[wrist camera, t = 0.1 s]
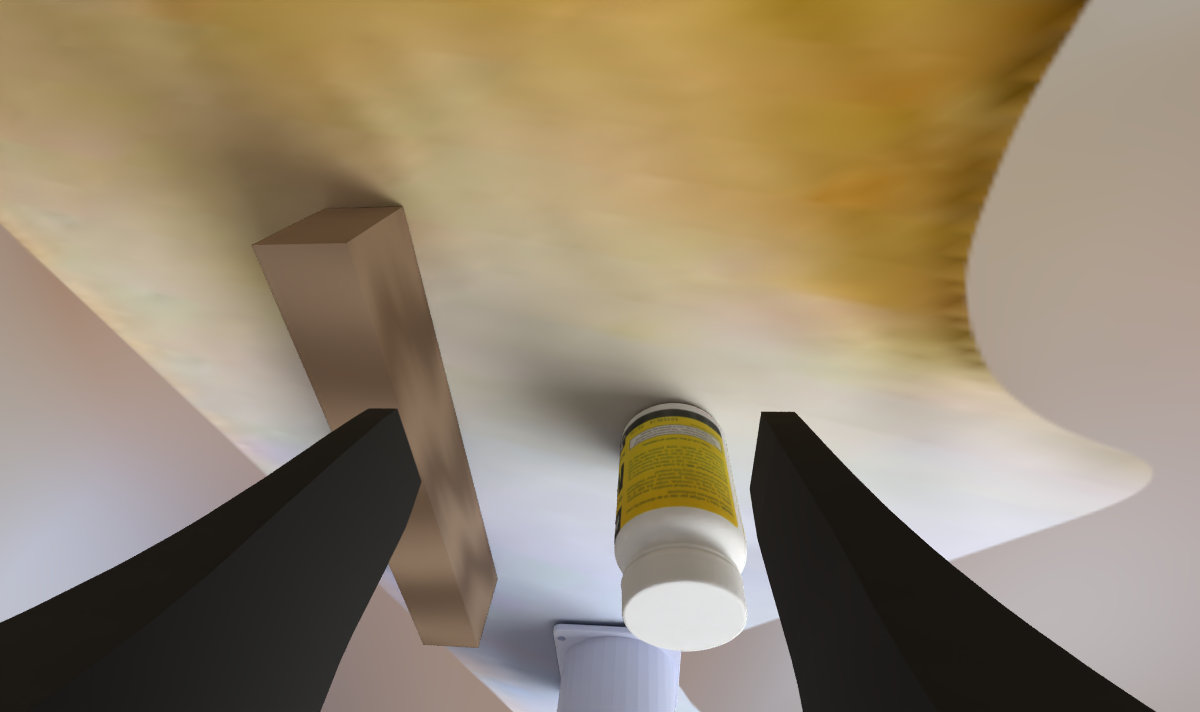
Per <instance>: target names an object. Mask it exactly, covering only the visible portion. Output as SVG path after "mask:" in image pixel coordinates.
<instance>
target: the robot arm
mask: <svg viewBox="0 0 1200 712" xmlns="http://www.w3.org/2000/svg"><path fill="white" fill-rule="evenodd" d="M421 482H422V481H421V478H420V475H419V472H418V469H417V466H416V463H415V460H414V457H413V454H412V451H411V448H410V445H409V442H408V439H407V436H406V433H405V430H404V427H403V424H402V421H401V418H400V415H399V412H398V409H393V408H369V409H367V410H365V411H364V412H362V413H360V414H358V415H357V416H355V417H354V418H352V419H351V420H349V421H348V422H346V423H344V424H343V425H341V426H340V427H338V428H337V429H335V430H334V431H333V432H331V433H330V434H328V435H327V436H325V437H324V438H322V439H321V440H319V441H318V442H316V443H315V444H314V445H312V446H311V447H309V448H308V449H306V450H305V451H303V452H302V453H300V454H299V455H297V456H296V457H295V458H293V459H292V460H290V461H289V462H287V463H286V464H284V465H283V466H281V467H280V468H278V469H277V470H275V471H274V472H273V473H271V474H270V475H268V476H267V477H265V478H264V479H262V480H260V481H259V482H257V483H256V484H254V485H253V486H251V487H249V488H248V489H246V490H245V491H243V492H242V493H240V494H239V495H237V496H235V497H234V498H232V499H231V500H229V501H228V502H226V503H224V504H223V505H221V506H220V507H218V508H217V509H215V510H213V511H212V512H210V513H209V514H207V515H206V516H204V517H202V518H201V519H199V520H197V521H196V522H194V523H192V524H191V525H189V526H187V527H185V528H184V529H182V530H180V531H179V532H177V533H175V534H174V535H172V536H170V537H168V538H166V539H165V540H163V541H161V542H159V543H157V544H156V545H154V546H152V547H150V548H148V549H147V550H145V551H143V552H141V553H140V554H138V555H136V556H134V557H132V558H130V559H129V560H127V561H125V562H123V563H121V564H119V565H117V566H115V567H114V568H112V569H109V570H107V571H106V572H103V573H102V574H100V575H97V576H95V577H94V578H91V579H90V580H87V581H85V582H83V583H81V584H79V585H77V586H75V587H74V588H71V589H70V590H68V591H65V592H63V593H61V594H59V595H57V596H55V597H53V598H51V599H49V600H48V601H45V602H43V603H41V604H39V605H37V606H35V607H34V608H31V609H29V610H27V611H25V612H23V613H21V614H18V615H16V616H14V617H12V618H10V619H8V620H5V621H3V622H1V623H0V712H320V711H321V708H322V706H323V703H324V701H325V698H326V696H327V693H328V691H329V688H330V686H331V683H332V681H333V678H334V676H335V673H336V670H337V668H338V665H339V663H340V660H341V658H342V656H343V654H344V652H345V650H346V647H347V645H348V643H349V641H350V638H351V636H352V634H353V632H354V630H355V628H356V626H357V624H358V622H359V620H360V618H361V616H362V614H363V612H364V611H365V609H366V607H367V605H368V603H369V600H370V598H371V597H372V595H373V593H374V591H375V589H376V587H377V585H378V583H379V581H380V579H381V577H382V575H383V573H384V571H385V569H386V567H387V565H388V563H389V561H390V559H391V557H392V555H393V553H394V551H395V549H396V547H397V545H398V543H399V541H400V539H401V537H402V534H403V532H404V530H405V528H406V526H407V523H408V520H409V517H410V515H411V512H412V509H413V506H414V503H415V500H416V497H417V494H418V491H419V488H420V485H421ZM750 494H751V501H752V508H753V514H754V520H755V526H756V532H757V538H758V542H759V546H760V550H761V553H762V557H763V560H764V564H765V568H766V571H767V575H768V578H769V582H770V586H771V589H772V593H773V596H774V600H775V603H776V607H777V610H778V614H779V617H780V621H781V624H782V628H783V631H784V635H785V638H786V641H787V645H788V649H789V652H790V656H791V659H792V664H793V668H794V672H795V676H796V680H797V684H798V688H799V694H800V698H801V704H802V709H803V712H1155V711H1154V710H1152V709H1151V708H1149V707H1148V706H1146V705H1145V704H1143V703H1142V702H1140V701H1138V700H1137V699H1136V698H1134V697H1133V696H1131V695H1130V694H1128V693H1127V692H1125V691H1124V690H1122V689H1121V688H1119V687H1118V686H1116V685H1115V684H1113V683H1112V682H1110V681H1109V680H1107V679H1106V678H1104V677H1103V676H1101V675H1100V674H1098V673H1097V672H1095V671H1094V670H1092V669H1091V668H1090V667H1088V666H1087V665H1085V664H1084V663H1082V662H1081V661H1080V660H1078V659H1077V658H1075V657H1074V656H1073V655H1071V654H1069V653H1068V652H1067V651H1066V650H1064V649H1063V648H1061V647H1060V646H1058V645H1057V644H1056V643H1054V642H1053V641H1051V640H1050V639H1049V638H1047V637H1046V636H1044V635H1043V634H1041V633H1040V632H1039V631H1037V630H1036V629H1035V628H1033V627H1032V626H1030V625H1029V624H1028V623H1026V622H1025V621H1024V620H1022V619H1021V618H1020V617H1018V616H1017V615H1015V614H1014V613H1013V612H1012V611H1010V610H1009V609H1007V608H1006V607H1005V606H1004V605H1002V604H1001V603H1000V602H998V601H997V600H996V599H994V598H993V597H992V596H991V595H989V594H988V593H987V592H986V591H984V590H983V589H982V588H981V587H979V586H978V585H977V584H976V583H974V582H973V581H972V580H970V579H969V578H968V577H967V576H966V575H964V574H963V573H962V572H960V571H959V570H958V569H957V568H955V567H954V566H953V565H952V564H950V563H949V562H948V561H947V560H946V559H945V558H943V557H942V556H941V555H940V554H939V553H937V552H936V551H935V550H934V549H933V548H932V547H930V546H929V545H928V544H927V543H926V542H925V541H924V540H922V539H921V538H920V537H919V536H918V535H917V534H916V533H915V532H914V531H912V530H911V529H910V528H909V527H908V526H907V525H906V524H905V523H904V522H902V521H901V520H900V519H899V518H898V517H897V516H896V515H895V514H894V513H893V512H891V511H890V510H889V509H888V508H887V507H886V506H885V505H884V504H883V503H882V502H881V501H880V500H879V499H878V498H877V497H876V496H875V495H874V494H873V493H872V492H871V491H870V490H869V489H868V488H867V487H866V486H865V485H864V484H863V483H862V482H861V481H860V480H859V479H858V478H857V477H856V476H855V475H854V474H853V473H852V472H851V471H850V470H849V469H848V468H847V467H846V466H845V465H844V464H843V463H842V462H841V461H840V460H839V459H838V458H837V456H836V455H835V454H834V453H833V452H832V451H831V450H830V449H829V448H828V447H827V446H826V445H825V444H824V443H823V442H822V440H821V439H820V438H819V437H818V436H817V435H816V434H815V433H814V432H813V431H812V430H811V429H810V428H809V426H808V425H807V424H806V423H805V422H804V421H803V420H802V419H801V418H800V417H799V416H798V415H797V414H796V413H795V412H761V418H760V424H759V431H758V438H757V444H756V451H755V457H754V464H753V471H752V477H751V484H750ZM553 635H554V641H555V647H556V652H557V658H558V664H559V670H560V675H561V685H560V693H559V700H558V708H557V712H675V708H676V707H677V700H678V685H679V671H680V657H681V651H674V650H668V649H663V648H659V647H656V646H653V645H650V644H648V643H645V642H644V641H642V640H640V639H638V638H637V637H636V636H634V635H633V634H632V633H631V632H630V631H629V630H628V628H627V627H614V626H594V625H575V624H557V625H555V626H554V630H553Z"/></svg>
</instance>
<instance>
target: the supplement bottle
mask: <svg viewBox="0 0 1200 712" xmlns="http://www.w3.org/2000/svg"><path fill="white" fill-rule="evenodd" d="M615 525H616V528H615V541H614V544H615V557H616V561H617V564H618V566H619V568H620V570H621V571H622V573H623V577H622V581H621V589H622V617H623V620H624V623H625V625H626V627H627V628H628V630H629V631H630V632H631V633H632V634H633V635H634V636H636V637H637V638H638V639H640V640H642V641H644V642H645V643H648V644H650V645H653V646H656V647H659V648H663V649H668V650H674V651H698V650H705V649H710V648H714V647H716V646H719V645H722V644H724V643H727V642H729V641H730V640H732V639H733V638H735V637H736V636H737V635H739V633H740V632H741V631H742V630H743V628H744V627H745V624H746V621H747V607H746V601H745V594H744V585H743V581H742V578H741V573H742V571H743V569H744V566H745V563H746V559H747V548H746V540H745V534H744V529H743V525H742V520H741V516H740V511H739V506H738V501H737V496H736V491H735V486H734V482H733V476H732V471H731V466H730V461H729V456H728V450H727V444H726V441H725V437H724V434H723V431H722V429H721V427H720V426H719V425H718V423H717V422H716V421H715V420H714V419H713V418H712V417H711V416H710V415H709V414H708V413H706V412H705V411H703V410H701V409H699V408H697V407H694V406H691V405H687V404H681V403H666V404H660V405H656V406H653V407H650V408H648V409H646V410H644V411H642V412H640V413H639V414H637V415H636V416H635V417H634V418H632V419H631V420H630V422H629V423H628V424H627V426H626V427H625V429H624V432H623V434H622V439H621V445H620V463H619V479H618V489H617V511H616V522H615Z"/></svg>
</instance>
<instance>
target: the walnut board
mask: <svg viewBox="0 0 1200 712" xmlns="http://www.w3.org/2000/svg"><path fill="white" fill-rule="evenodd" d="M252 247H253V250H254V252H255V254H256V257H257V259H258V261H259V264H260V266H261V268H262V271H263V273H264V275H265V277H266V280H267V282H268V284H269V287H270V289H271V291H272V294H273V296H274V298H275V301H276V303H277V305H278V308H279V310H280V312H281V315H282V317H283V319H284V322H285V324H286V326H287V329H288V331H289V333H290V336H291V338H292V340H293V343H294V345H295V347H296V350H297V352H298V354H299V357H300V359H301V361H302V363H303V366H304V368H305V370H306V373H307V375H308V377H309V380H310V382H311V384H312V387H313V389H314V391H315V394H316V396H317V398H318V401H319V403H320V405H321V408H322V410H323V412H324V415H325V417H326V419H327V422H328V424H329V426H330V429H331V431H332V432H333V431H334V430H335V429H337V428H338V427H340V426H341V425H343V424H344V423H346V422H348V421H349V420H351V419H352V418H354V417H355V416H357V415H358V414H360V413H362V412H364V411H365V410H367V409H369V408H393V409H398V412H399V415H400V418H401V421H402V424H403V427H404V430H405V433H406V436H407V439H408V442H409V445H410V448H411V451H412V454H413V457H414V460H415V463H416V466H417V469H418V472H419V475H420V478H421V481H422V482H421V485H420V488H419V491H418V494H417V497H416V500H415V503H414V506H413V509H412V512H411V515H410V517H409V520H408V523H407V526H406V528H405V530H404V532H403V534H402V537H401V539H400V541H399V543H398V545H397V547H396V549H395V551H394V553H393V555H392V557H391V559H390V561H389V566H390V568H391V570H392V573H393V575H394V577H395V580H396V582H397V584H398V587H399V589H400V591H401V594H402V596H403V598H404V601H405V603H406V605H407V608H408V610H409V612H410V614H411V617H412V619H413V621H414V624H415V626H416V628H417V631H418V633H419V635H420V638H421V640H422V642H423V644H424V645H438V646H456V647H473V648H478V647H479V643H480V640H481V636H482V633H483V629H484V625H485V622H486V618H487V615H488V611H489V608H490V604H491V600H492V597H493V593H494V590H495V586H496V583H497V575H496V571H495V567H494V563H493V559H492V555H491V551H490V547H489V543H488V539H487V535H486V531H485V528H484V524H483V520H482V516H481V512H480V508H479V504H478V500H477V496H476V492H475V488H474V484H473V480H472V476H471V472H470V468H469V465H468V461H467V457H466V453H465V449H464V445H463V441H462V437H461V433H460V429H459V425H458V421H457V417H456V413H455V409H454V405H453V402H452V398H451V394H450V390H449V386H448V382H447V378H446V374H445V370H444V366H443V362H442V358H441V354H440V350H439V346H438V342H437V338H436V335H435V331H434V327H433V323H432V319H431V315H430V311H429V307H428V303H427V299H426V295H425V291H424V287H423V283H422V279H421V275H420V272H419V268H418V264H417V260H416V256H415V252H414V248H413V244H412V240H411V236H410V232H409V228H408V224H407V220H406V216H405V212H404V209H403V207H367V208H331V209H323V210H321V211H319V212H317V213H315V214H313V215H311V216H309V217H307V218H305V219H303V220H301V221H299V222H297V223H295V224H293V225H291V226H289V227H287V228H285V229H283V230H281V231H279V232H277V233H275V234H273V235H271V236H269V237H267V238H265V239H263V240H261V241H259V242H257V243H255V244H253V245H252Z"/></svg>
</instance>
